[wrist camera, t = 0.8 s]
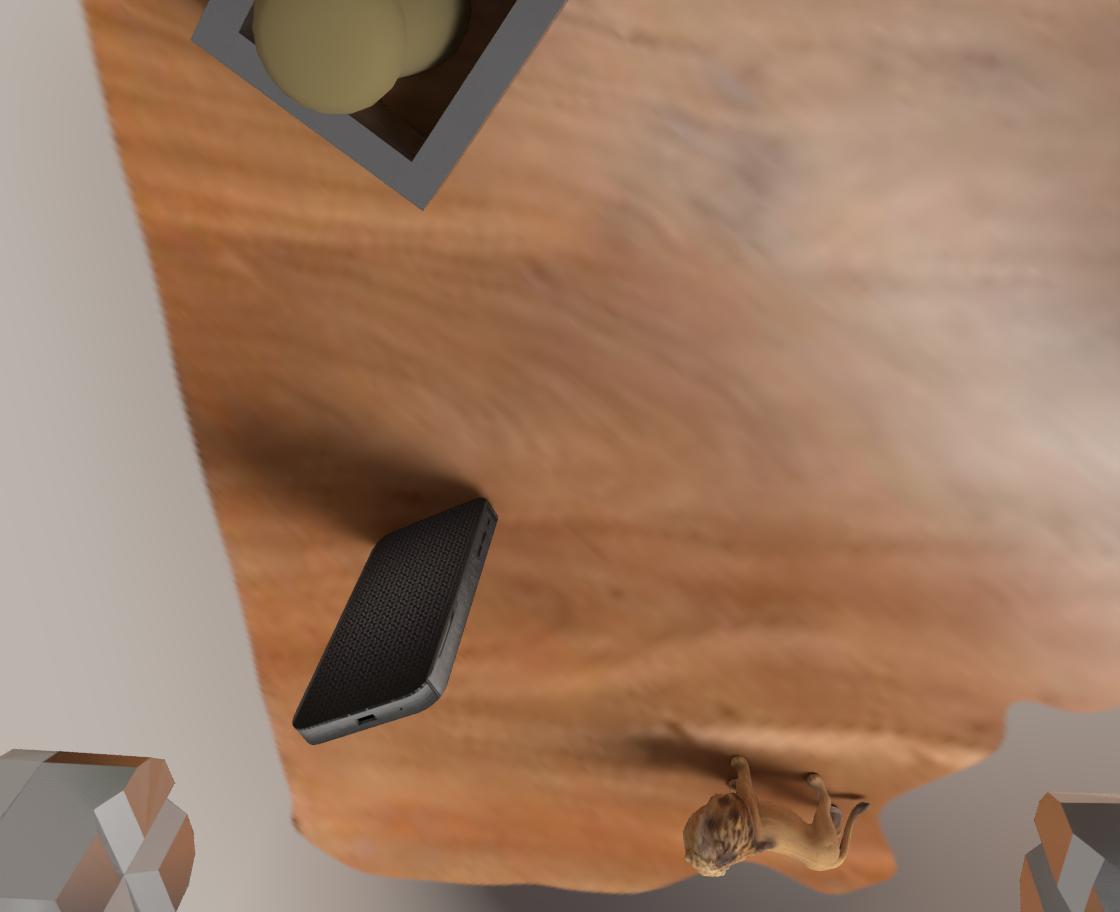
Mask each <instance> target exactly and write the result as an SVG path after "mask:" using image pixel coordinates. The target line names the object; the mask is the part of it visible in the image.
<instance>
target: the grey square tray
mask: <svg viewBox="0 0 1120 912" xmlns="http://www.w3.org/2000/svg"><path fill="white" fill-rule="evenodd" d="M567 1H568V0H517V1H516V3H515V5H514V6H513V8H512V9H511V11H510V12H509V14H508V15H507V17H506V18H505V20H504V21H503V23H502V24H501V26H500V28H499V29H498V31H497V32H496V34H495V35H494V37H493V38H492V40H491V41H490V43H489V44H488V46H487V47H486V49H485V51H484V52H483V54H482V55H481V57H480V58H479V60H478V61H477V63H476V64H475V66H474V67H473V69H472V71H471V72H470V74H469V75H468V77H467V78H466V80H465V81H464V83H463V84H462V86H461V87H460V89H459V90H458V92H457V94H456V95H455V97H454V98H453V100H452V101H451V103H450V104H449V106H448V107H447V109H446V110H445V112H444V114H443V115H442V117H441V118H440V120H439V121H438V123H437V124H436V126H435V127H434V129H433V130H432V132H431V133H430V135H429V137H428V138H426V137H425V136H424V135H422V134H421V133H420V132H418V131H417V130H416V129H414V128H413V127H412V126H411V125H409V124H408V123H407V122H405V121H404V120H403V119H401V118H400V117H399V116H397V115H396V114H395V113H393V112H392V111H391V110H389V109H388V108H387V107H385V106H384V105H383V104H381V103H380V102H379V101H377V102H376V103H375V104H373V105H372V106H370V107H368V108H365V109H362V110H360V111H357V112H354V113H352V114H324V113H321V112H318V111H315V110H312V109H308V108H305V107H303V106H301V105H300V104H298V103H297V102H295V101H294V100H292V99H291V98H290V97H288V96H287V95H285V94H284V93H283V92H282V91H281V90H280V89H279V87H278V86H277V85H276V84H275V83H274V82H273V80H272V79H271V78H270V77H269V76H268V74H267V72H266V70H265V68H264V66H263V64H262V62H261V60H260V58H259V56H258V54H257V50H256V45H255V39H254V34H253V29H252V26H253V16H254V6H255V2H256V0H209V2H208V4H207V6H206V8H205V10H204V12H203V14H202V16H201V19H200V21H199V23H198V25H197V27H196V29H195V31H194V33H193V35H192V37H191V41H193V42H194V43H195V44H197V45H198V46H199V47H201V48H202V49H204V50H205V51H206V52H208V53H209V54H210V55H212V56H213V57H214V58H216V59H217V60H218V61H220V62H221V63H223V64H224V65H225V66H227V67H228V68H229V69H231V70H232V71H233V72H235V73H236V74H237V75H239V76H240V77H242V78H243V79H244V80H246V81H247V82H248V83H250V84H251V85H252V86H254V87H255V88H256V89H258V90H259V91H261V92H262V93H263V94H265V95H266V96H267V97H269V98H270V99H271V100H273V101H274V102H275V103H277V104H278V105H280V106H281V107H282V108H284V109H285V110H286V111H288V112H289V113H290V114H292V115H293V116H294V117H296V118H297V119H299V120H300V121H301V122H303V123H304V124H305V125H307V126H308V127H309V128H311V129H312V130H313V131H315V132H316V133H318V134H319V135H320V136H322V137H323V138H324V139H326V140H327V141H328V142H330V143H331V144H332V145H334V146H335V147H337V148H338V149H339V150H341V151H342V152H343V153H345V154H346V155H347V156H349V157H350V158H351V159H353V160H354V161H356V162H357V163H358V164H360V165H361V166H362V167H364V168H365V169H366V170H368V171H369V172H371V173H372V174H373V175H375V176H376V177H377V178H379V179H380V180H381V181H383V182H384V183H385V184H387V185H388V186H390V187H391V188H392V189H394V190H395V191H396V192H398V193H399V194H400V195H402V196H403V197H404V198H406V199H407V200H409V201H410V202H411V203H413V204H414V205H415V206H417V207H418V208H419V209H421V210H422V211H423V210H424V209H425V208H426V206H427V205H428V204H429V202H430V201H431V200H432V198H433V197H434V196H435V194H436V193H437V192H438V191H439V189H440V188H441V187H442V185H443V184H444V182H445V181H446V179H447V178H448V176H449V175H450V173H451V172H452V170H453V169H454V167H455V166H456V164H457V163H458V162H459V160H460V159H461V157H462V156H463V154H464V153H465V151H466V150H467V148H468V147H469V145H470V144H471V142H472V141H473V139H474V138H475V137H476V135H477V134H478V132H479V131H480V129H481V128H482V126H483V125H484V123H485V122H486V120H487V119H488V117H489V116H490V114H491V113H492V112H493V110H494V109H495V107H496V106H497V104H498V103H499V101H500V100H501V98H502V97H503V95H504V94H505V92H506V91H507V89H508V88H509V87H510V85H511V84H512V82H513V81H514V79H515V78H516V76H517V75H518V73H519V72H520V70H521V69H522V67H523V66H524V64H525V63H526V62H527V60H528V59H529V57H530V56H531V54H532V53H533V51H534V50H535V48H536V47H537V45H538V44H539V42H540V41H541V39H542V38H543V37H544V35H545V34H546V32H547V31H548V29H549V28H550V26H551V25H552V23H553V22H554V20H555V19H556V17H557V16H558V14H559V13H560V12H561V10H562V9H563V7H564V6H565V4H566V3H567Z"/></svg>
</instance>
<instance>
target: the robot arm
mask: <svg viewBox="0 0 1120 912" xmlns="http://www.w3.org/2000/svg"><path fill="white" fill-rule="evenodd" d="M174 784H175V782H174V779H173V777H172V775H171V773H170V771H169V768H168V766H167V764H166V762H165V759H158V758H151V757H136V756H121V755H107V754H93V753H78V752H63V751H59V752H58V751H39V750H22V749H12V750H11V751H9V752H7V753H5V754H4V755H2V756H0V912H176V911H177V909H178V907H179V905H180V903H181V900H182V898H183V896H184V894H185V892H186V890H187V887H188V885H189V881H190V876H191V871H192V867H193V862H194V857H195V845H194V832H193V829H192V826H191V823H190V820H189V818H188V815H187V814H186V813H185V812H184V811H182V810H181V809H180V808H179V807H178V806H176V805H175V804H174V803H173V802H171V801H170V800H169V799H168V798H167V797H168V795H169V793H170V791H171V789H172V788H173V786H174ZM1034 822H1035V825H1036V828H1037V831H1038V833H1039V836H1040V839H1041V842H1042V843H1041V844H1039V845H1038V846H1037V847H1035V848H1034V849H1032V850H1031V851H1029V852H1028V853H1027V854H1025V858H1024V863H1023V868H1022V872H1021V878H1020V905H1021V912H1120V794H1107V793H1071V792H1047V793H1046V794H1045V796H1044V797H1043V798H1042V799H1041V800H1040V801H1039V805H1038V808H1037V812H1036V816H1035V819H1034Z"/></svg>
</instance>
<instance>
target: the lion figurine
mask: <svg viewBox="0 0 1120 912" xmlns="http://www.w3.org/2000/svg"><path fill="white" fill-rule="evenodd" d="M731 766H732V767H734V768H735V769H736V772H737V774H738V778H737V779H732V780H731V781H730V782H729V783H728V786H729V789H730V790H731V791H733V792H736V793H729V794H725V795H723V794H715V795H714V796H712V797H711V798H710V800H709V802H708V804H707V805H705V806H703V807H701V808H700V809H699V810H697V811H696V812H695V813H693V814H692V816H691V817H690V818H689V820H688V822H687V823H686V825H685V828H684V830H683V837H684V844H685V850H686V851H685V859H686V861H688V862H691V863H692V866H693V868H696V869H697V871H698V872H699V873H701V875H702V876H720V875H725V872H726V869H729V868H730V865H733V864H736V863H739V862H741V861H742V860H745V859H747V858H748V857H750V856H754V855H756V854H758V853H761V852H763V851H764V850H768V851H773V852H777V853H781V854H784V855H787V856H790V857H792V858H794V859H796V860H798V861H799V862H800V863H802V864H803V865H804V866H806V867H808V868H810V869H812V870H816V871H824V870H828V869H833V868H836V867H838V866H839V865H841V864H842V863H843V861H844V860H845V858H846V856H847V853H848V849H849V844H850V838H851V833H852V827H853V823H854V821H855V819H856V818H857V816H858V815H859V814H860V813H862V812H864V811H865V810H866V809H867V808H868V807H869V806H870V804H869V803H864V802H861V803H859V804H858V805H856V807H855V808H854V809H853V810H852V811H851V814H850V816H849V818H848V820H847V823H846V827H845V830H844V834H843V838H842V841H841V844H840V848H839V842H838V837H839V836H840V835H841V833H842V823H843V816H842V813H841V811H840V810H839V809H838V808H836V807H834V806H831V799H830V797H829V795H828V793H827V791H826V789H825V785H824V782H823V780H822V778H821V777H820V776H819V775H817V774H810V775H809V776H808V778H807V779H806V782H807V785H808V786H810V787H812V788H814V789H815V790H816V791H817V793H818V796H819V805H818V807H817V810H816V813H815V815H814V820H813V823H812V824H808V823H806V822H804V821H803V820H802V819H801V818H800V817H799V816H798V815H797V814H795V813H794V812H793V811H792V810H790V809H789V808H787V807H784V806H782V805H780V804H777V803H773V802H767V801H758V799H757V797H756V795H755V793H754V790H753V787H752V782H751V777H750V769H749V766H748V763H747V761H746V759H745V758H743V757H742V756H736V757H734V758H732V761H731Z"/></svg>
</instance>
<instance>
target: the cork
mask: <svg viewBox="0 0 1120 912" xmlns="http://www.w3.org/2000/svg"><path fill="white" fill-rule="evenodd" d="M470 12H471V2H470V0H256V2H255V6H254V16H253V26H252V29H253V34H254V39H255V45H256V50H257V54H258V56H259V58H260V60H261V62H262V64H263V66H264V68H265V70H266V72H267V74H268V76H269V77H270V78H271V79H272V80H273V82H274V83H275V84H276V85H277V86H278V87H279V89H280V90H281V91H282V92H283V93H284V94H285V95H287V96H288V97H290V98H291V99H292V100H294V101H295V102H297V103H298V104H300V105H301V106H303V107H305V108H308V109H312V110H315V111H318V112H321V113H324V114H352V113H354V112H357V111H360V110H362V109H365V108H368V107H370V106H372V105H373V104H375V103H376V102H377V101H378V100H379V99H380V98H381V97H383V96H384V95H385V94H386V93H387V92H388V91H389V90H390V89H392V88H393V86H394V84H395V82H396V80H397V78H401V77H405V76H410V75H414V74H418V73H422V72H424V71H427V70H429V69H432V68H435V67H437V66H439V65H441V64H442V63H443V62H444V61H445V60H446V59H448V58H449V57H450V56H451V55H452V54H453V53H454V52H455V51H456V49H457V48H458V46H459V44H460V42H461V41H462V39H463V37H464V35H465V34H466V31H467V26H468V22H469V17H470Z"/></svg>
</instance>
